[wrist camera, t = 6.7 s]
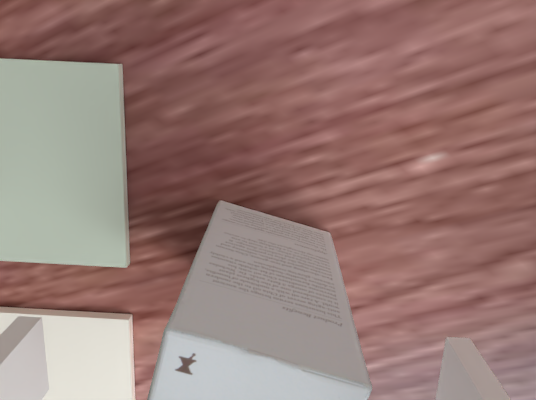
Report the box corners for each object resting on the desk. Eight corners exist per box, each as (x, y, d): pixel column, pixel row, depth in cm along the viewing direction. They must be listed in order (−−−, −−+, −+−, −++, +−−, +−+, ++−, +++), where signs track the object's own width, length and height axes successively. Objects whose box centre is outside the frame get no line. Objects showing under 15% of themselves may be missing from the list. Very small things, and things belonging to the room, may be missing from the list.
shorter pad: (122, 63, 23) (118, 64, 22) (130, 263, 26) (126, 267, 25) (-133, 51, 23) (-144, 51, 22) (-97, 250, 26) (-106, 254, 25)
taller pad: (131, 314, 27) (128, 320, 26) (137, 463, 29) (135, 471, 29) (-88, 301, 27) (-96, 307, 26) (-61, 450, 30) (-68, 458, 29)
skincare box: (197, 272, 26) (127, 448, 14) (219, 196, 25) (160, 324, 13) (308, 304, 26) (327, 502, 15) (335, 231, 25) (377, 385, 13)
